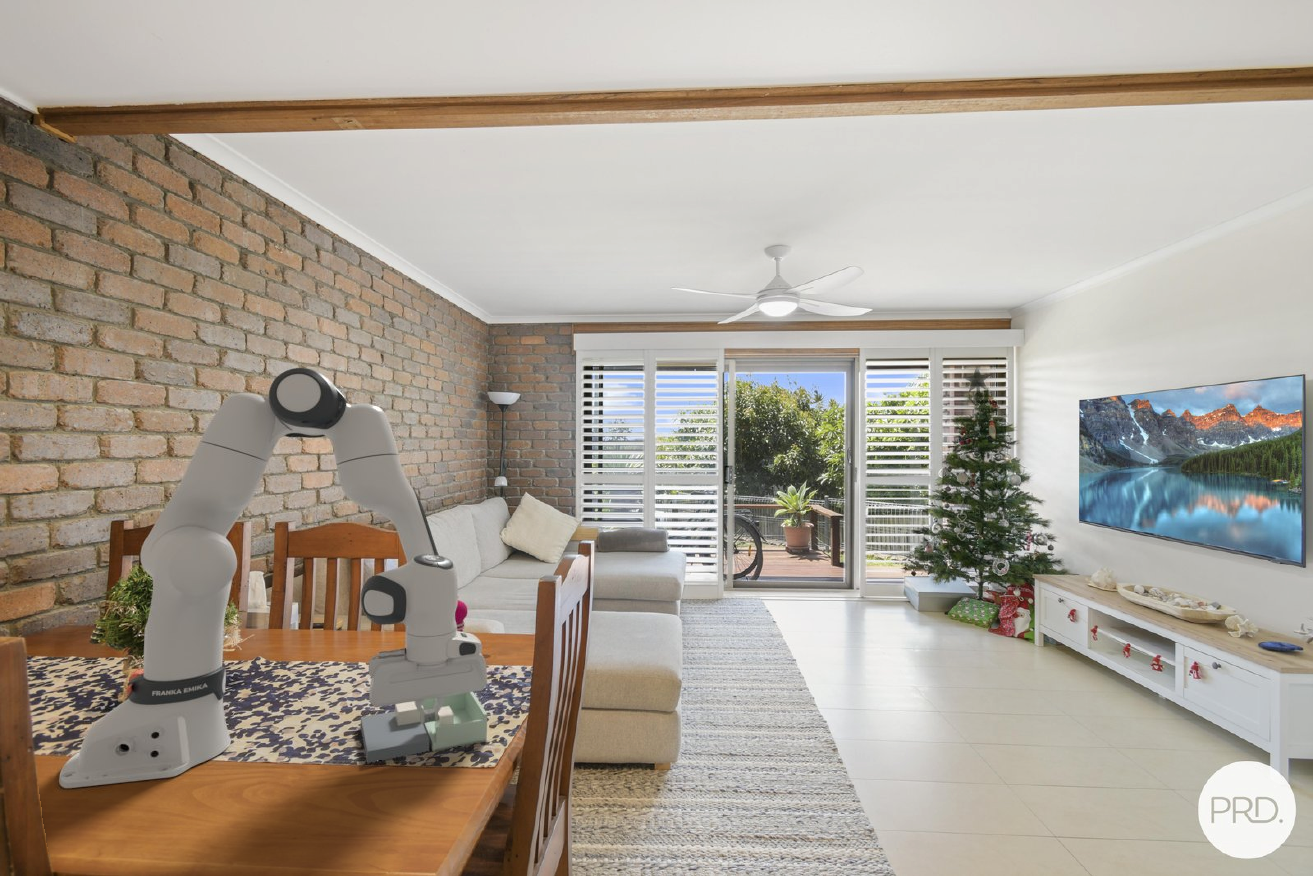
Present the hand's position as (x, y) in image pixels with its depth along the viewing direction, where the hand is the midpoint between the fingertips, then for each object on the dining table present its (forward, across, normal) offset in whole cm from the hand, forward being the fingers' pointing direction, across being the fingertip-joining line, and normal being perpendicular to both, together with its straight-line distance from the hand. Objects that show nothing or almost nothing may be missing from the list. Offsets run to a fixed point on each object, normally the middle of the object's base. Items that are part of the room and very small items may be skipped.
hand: (428, 721), depth 118 cm
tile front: (+1, +2, 0) cm, 2 cm away
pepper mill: (+4, +10, +28) cm, 29 cm away
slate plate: (+4, -6, +4) cm, 7 cm away
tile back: (+2, -2, +6) cm, 7 cm away
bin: (+4, +5, +4) cm, 7 cm away
